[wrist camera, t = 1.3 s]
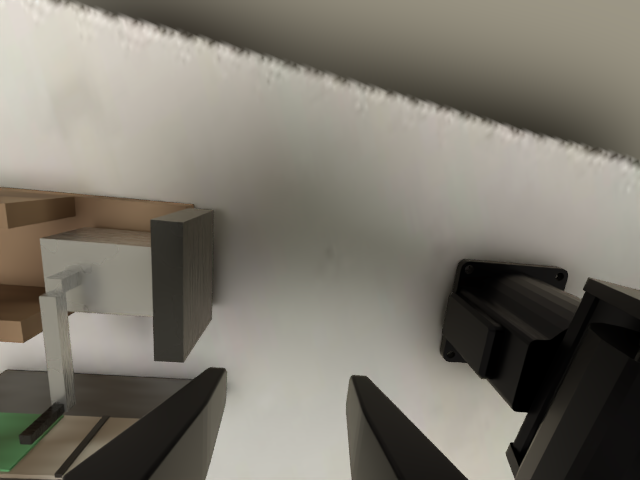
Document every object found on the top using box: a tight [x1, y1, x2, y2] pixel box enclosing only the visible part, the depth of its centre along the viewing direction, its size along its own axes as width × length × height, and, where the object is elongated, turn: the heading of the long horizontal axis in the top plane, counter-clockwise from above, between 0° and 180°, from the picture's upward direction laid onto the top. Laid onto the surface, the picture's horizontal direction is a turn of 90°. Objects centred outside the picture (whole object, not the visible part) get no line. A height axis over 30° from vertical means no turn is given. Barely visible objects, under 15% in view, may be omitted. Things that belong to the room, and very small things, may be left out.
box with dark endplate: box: [19, 208, 214, 445], centre depth 13 cm, size 6×8×6 cm
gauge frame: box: [0, 187, 194, 480], centre depth 13 cm, size 15×12×9 cm
